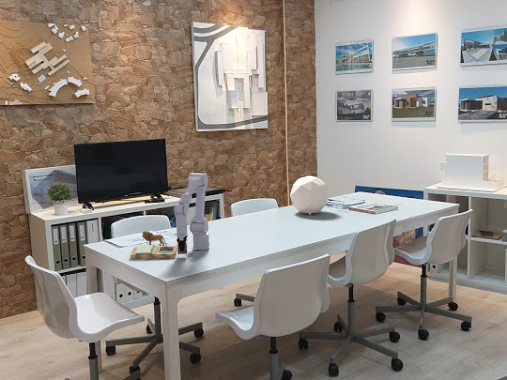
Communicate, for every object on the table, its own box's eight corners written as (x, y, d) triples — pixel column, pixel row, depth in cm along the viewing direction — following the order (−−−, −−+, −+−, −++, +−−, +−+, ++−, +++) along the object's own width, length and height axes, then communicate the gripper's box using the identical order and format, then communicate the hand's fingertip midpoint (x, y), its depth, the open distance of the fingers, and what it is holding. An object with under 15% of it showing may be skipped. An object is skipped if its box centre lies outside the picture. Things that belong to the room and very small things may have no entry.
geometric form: (315, 228, 423) (317, 201, 401) (282, 210, 435) (283, 183, 414) (334, 205, 439) (338, 178, 417) (302, 189, 451) (304, 162, 429)
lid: (154, 245, 322) (154, 242, 322) (152, 253, 306) (151, 250, 306) (139, 246, 321) (138, 243, 321) (135, 253, 305) (135, 250, 305)
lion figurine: (142, 247, 332) (141, 232, 330) (143, 244, 337) (142, 230, 335) (167, 246, 333) (166, 231, 331) (167, 244, 338) (167, 229, 336)
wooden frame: (176, 250, 324) (176, 245, 323) (175, 258, 307) (174, 253, 307) (134, 251, 322) (134, 246, 322) (130, 259, 305) (130, 254, 305)
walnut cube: (187, 251, 311) (186, 242, 310) (186, 253, 306) (186, 244, 305) (178, 251, 310) (177, 242, 310) (177, 254, 305) (177, 245, 305)
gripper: (175, 223, 312) (175, 246, 315) (173, 229, 298) (174, 253, 300) (187, 222, 313) (188, 246, 315) (186, 228, 299) (187, 253, 301)
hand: (182, 250), depth 308 cm, fingers closed on walnut cube, 5 cm apart
